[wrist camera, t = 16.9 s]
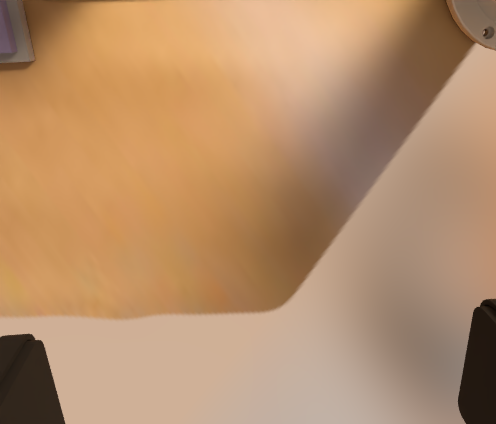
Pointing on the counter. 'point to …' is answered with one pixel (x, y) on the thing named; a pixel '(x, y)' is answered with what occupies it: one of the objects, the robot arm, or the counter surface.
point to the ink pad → (14, 33)
